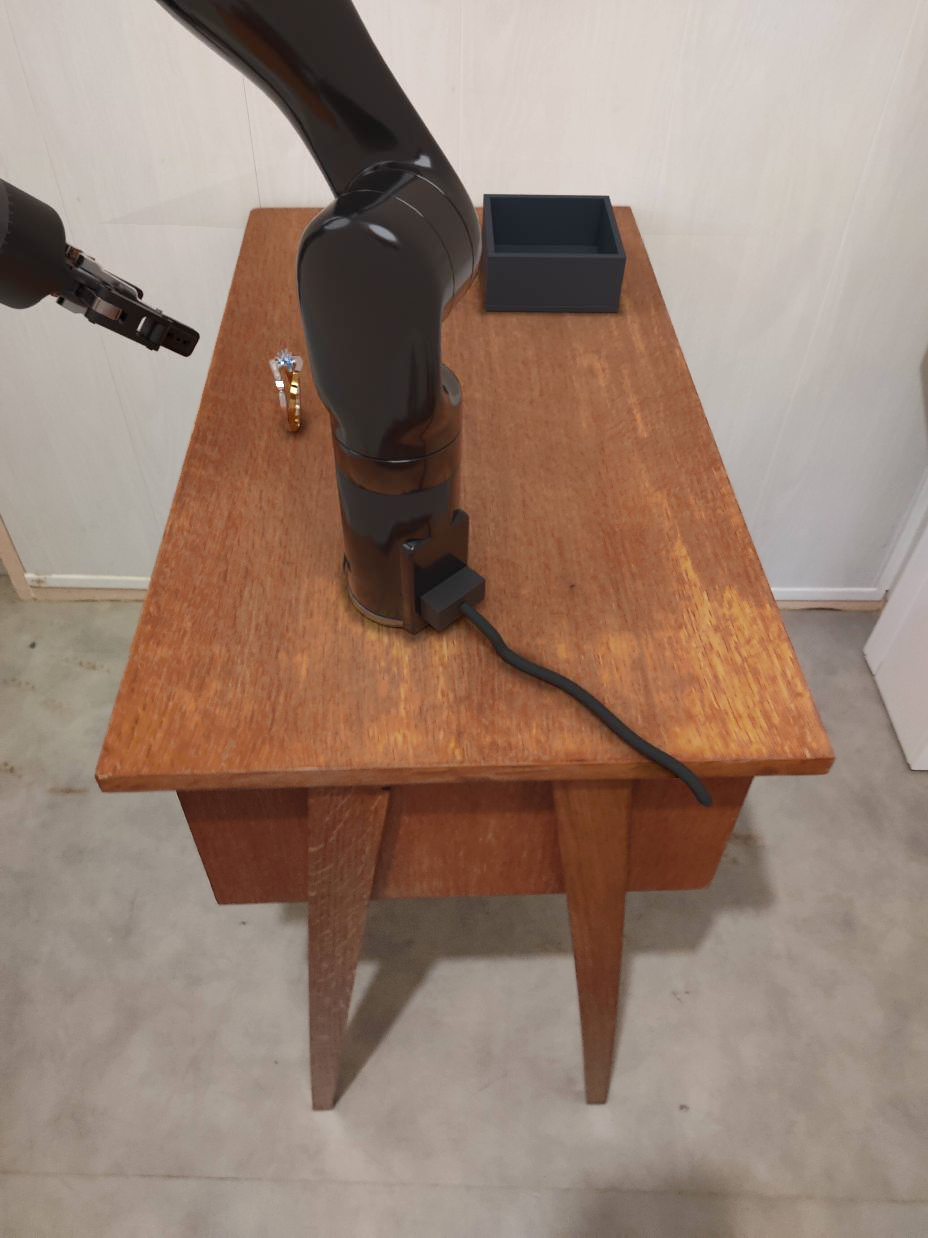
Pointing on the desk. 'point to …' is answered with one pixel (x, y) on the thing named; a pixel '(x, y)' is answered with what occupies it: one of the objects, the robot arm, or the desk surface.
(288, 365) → the ring
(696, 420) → the desk surface
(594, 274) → the bin
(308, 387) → the desk surface
